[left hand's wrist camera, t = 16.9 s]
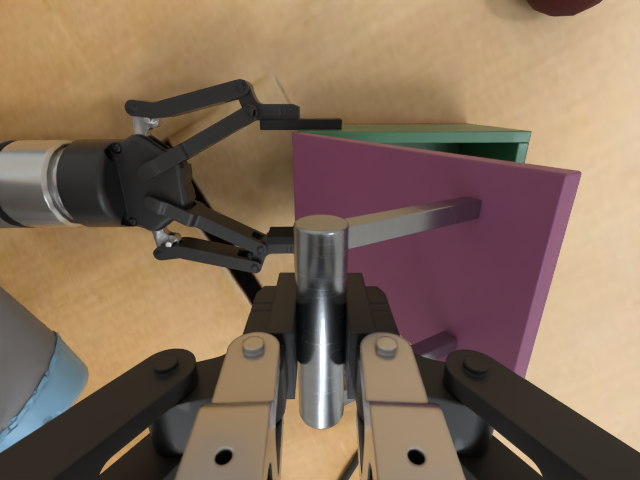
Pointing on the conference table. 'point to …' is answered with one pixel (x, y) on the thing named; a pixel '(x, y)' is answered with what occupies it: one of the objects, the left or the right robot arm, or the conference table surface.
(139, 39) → the conference table surface
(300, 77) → the conference table surface
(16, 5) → the conference table surface
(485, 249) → the lid
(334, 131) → the chest
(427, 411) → the left robot arm
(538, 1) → the potato
